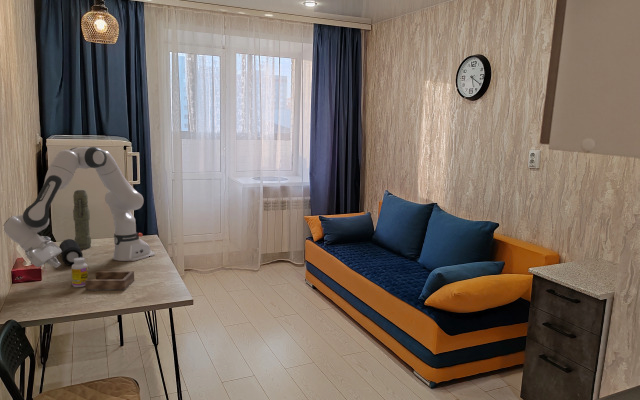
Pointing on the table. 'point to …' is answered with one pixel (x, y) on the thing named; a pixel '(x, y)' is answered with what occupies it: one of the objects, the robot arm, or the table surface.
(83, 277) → the supplement bottle
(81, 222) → the thermos
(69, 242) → the portable speaker
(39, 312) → the table surface
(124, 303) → the table surface
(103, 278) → the wooden tray
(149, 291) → the table surface
